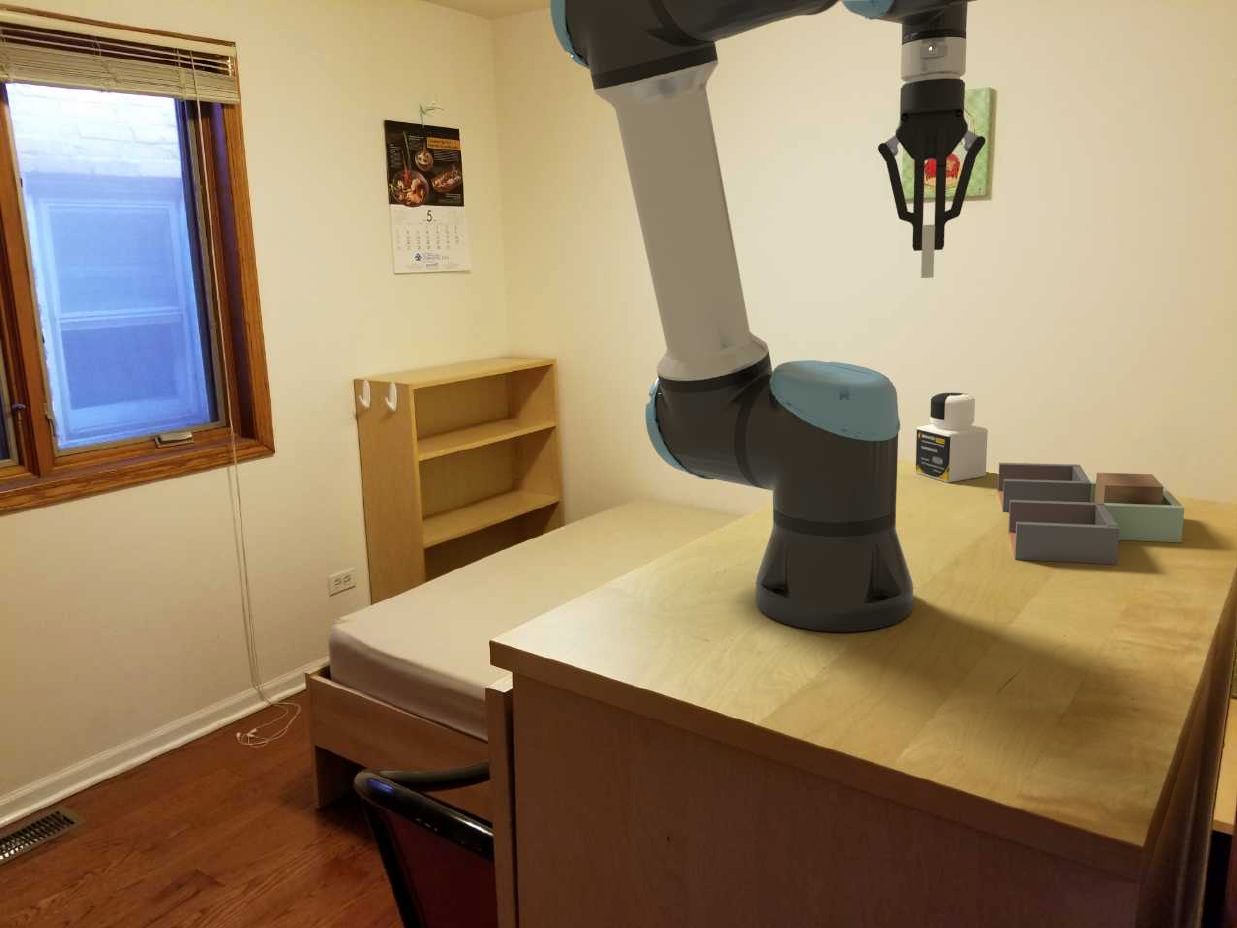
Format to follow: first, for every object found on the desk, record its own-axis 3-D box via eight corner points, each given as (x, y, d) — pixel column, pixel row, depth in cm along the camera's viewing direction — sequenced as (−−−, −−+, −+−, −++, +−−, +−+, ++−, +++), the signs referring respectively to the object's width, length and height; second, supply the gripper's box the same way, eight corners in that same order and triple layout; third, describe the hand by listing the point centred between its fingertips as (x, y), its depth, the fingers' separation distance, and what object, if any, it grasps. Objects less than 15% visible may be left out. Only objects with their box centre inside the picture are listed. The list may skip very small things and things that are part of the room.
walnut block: (1101, 535, 113) (1105, 485, 112) (1093, 520, 119) (1096, 472, 117) (1159, 537, 111) (1163, 487, 110) (1148, 522, 117) (1152, 474, 115)
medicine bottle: (914, 473, 144) (916, 393, 142) (952, 467, 147) (955, 388, 144) (948, 483, 138) (950, 400, 135) (986, 476, 141) (990, 394, 138)
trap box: (1015, 559, 106) (1017, 524, 105) (997, 491, 133) (999, 462, 132) (1202, 569, 100) (1205, 532, 100) (1144, 495, 127) (1147, 466, 126)
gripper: (875, 81, 117) (873, 280, 122) (991, 71, 113) (983, 277, 118) (879, 89, 124) (876, 277, 129) (987, 80, 120) (980, 274, 125)
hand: (927, 277), depth 124 cm, fingers closed
